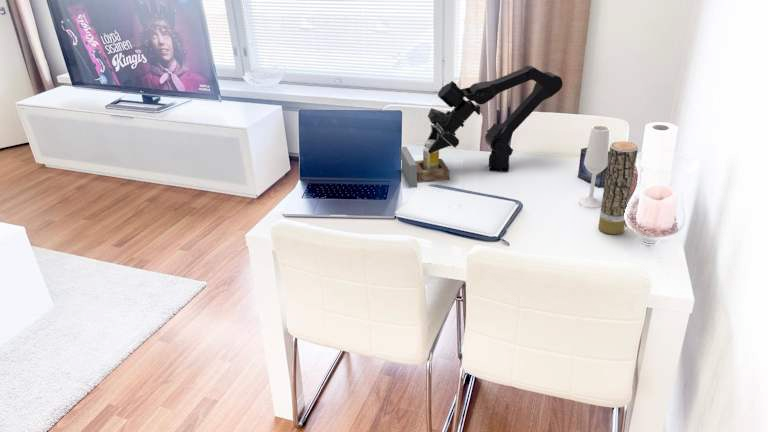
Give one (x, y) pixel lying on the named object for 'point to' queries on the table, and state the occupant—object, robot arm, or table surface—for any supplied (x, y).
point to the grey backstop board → (409, 167)
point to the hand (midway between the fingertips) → (427, 149)
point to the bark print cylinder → (617, 186)
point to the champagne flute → (596, 160)
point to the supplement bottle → (430, 156)
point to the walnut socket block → (432, 172)
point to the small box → (586, 175)
